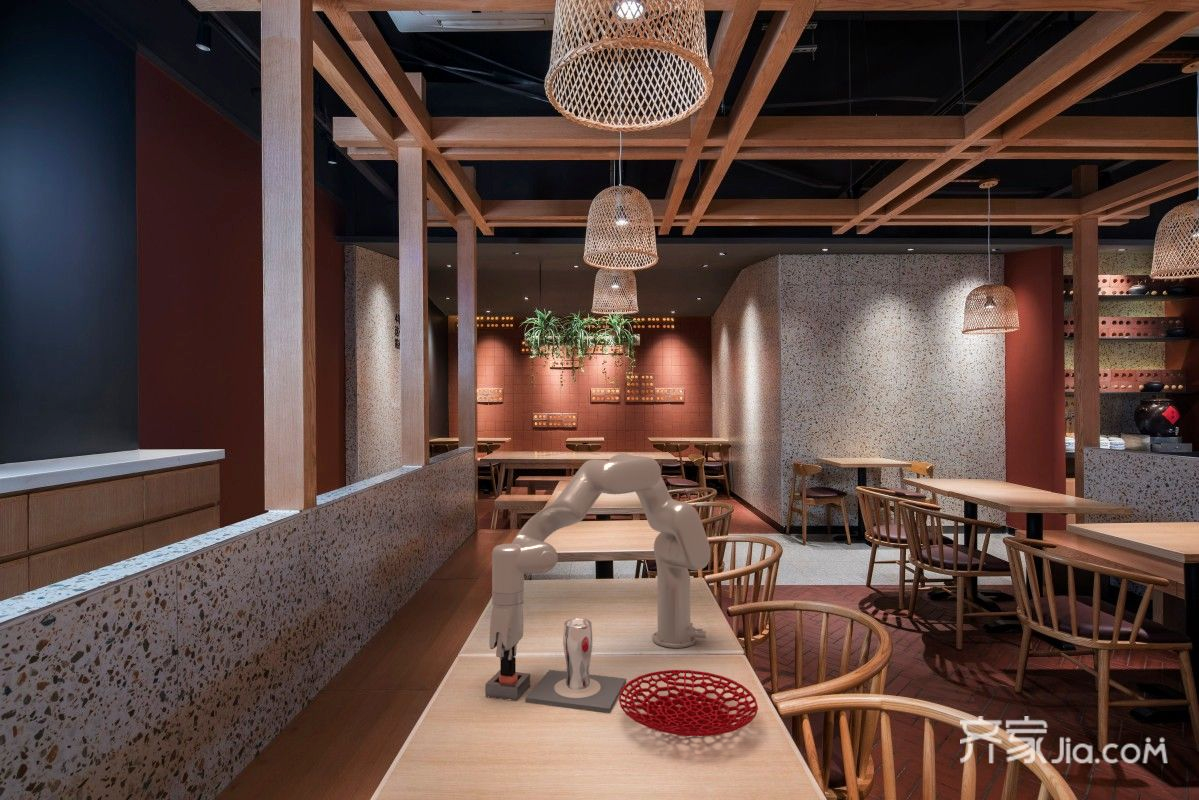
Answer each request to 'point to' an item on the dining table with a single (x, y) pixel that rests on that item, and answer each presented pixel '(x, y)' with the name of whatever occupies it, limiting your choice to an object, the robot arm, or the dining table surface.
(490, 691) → the button housing
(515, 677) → the button
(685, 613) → the robot arm
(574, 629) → the beer glass
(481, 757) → the dining table surface
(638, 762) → the dining table surface
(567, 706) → the grey rectangular board
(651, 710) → the bowl
